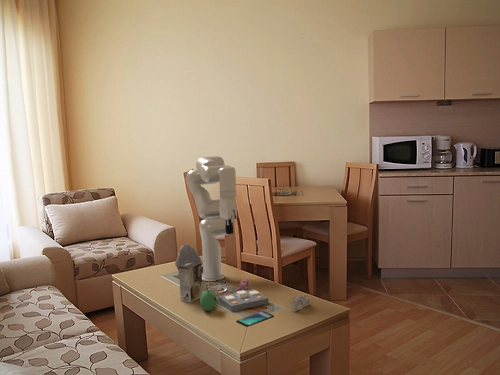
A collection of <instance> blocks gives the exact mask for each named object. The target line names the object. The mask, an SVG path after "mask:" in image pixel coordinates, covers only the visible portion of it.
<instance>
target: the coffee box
mask: <svg viewBox="0 0 500 375" xmlns="http://www.w3.org/2000/svg"><path fill="white" fill-rule="evenodd" d="M202 274H203V272H202V266H201V263H197V262H188V263H186V264H184V265H182V266H179V270H178V275H179V277H178V278H179V296H180V299H179V300H180V301H182V302H185V303H191V304H192V303H194V302H195V301H197V300H200V297H201V295H202V294H203V293H204V291H203V280H202Z"/></svg>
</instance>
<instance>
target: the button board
mask: <svg viewBox="0 0 500 375" xmlns="http://www.w3.org/2000/svg"><path fill="white" fill-rule="evenodd" d="M255 290H256V289H255V288H251V289H246V290H245V291H246V292H247V297H246V298H241V299H240V298H238V297H237V293H235V292H232V293H231V292H230V293H227V294H220V295H217V297H218V298H217V299H218V303H220V304H221V305H222V306H223V307H225V308H226V309H227V310H228V311H229V312H235V311H241V310H246V309H250V308H253V307H258V306H262V305H267V304H269V302H270V301H269V297H267V296H266V295H264V293H263V294H262V292H259V291H258V290H256V291H257V292H259V295H255V296H251V295H249V293H248V292H250V291H255ZM230 295H232V296H234V297H235V300H231V301H226V300H225V299H224V297H225V296H230Z"/></svg>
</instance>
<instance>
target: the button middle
mask: <svg viewBox="0 0 500 375" xmlns="http://www.w3.org/2000/svg"><path fill="white" fill-rule="evenodd" d="M236 293H237V297H238V298H240V299H241V298H246V297H247V292H246V290H245V291H244V290H242V291H237V292H236Z"/></svg>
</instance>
